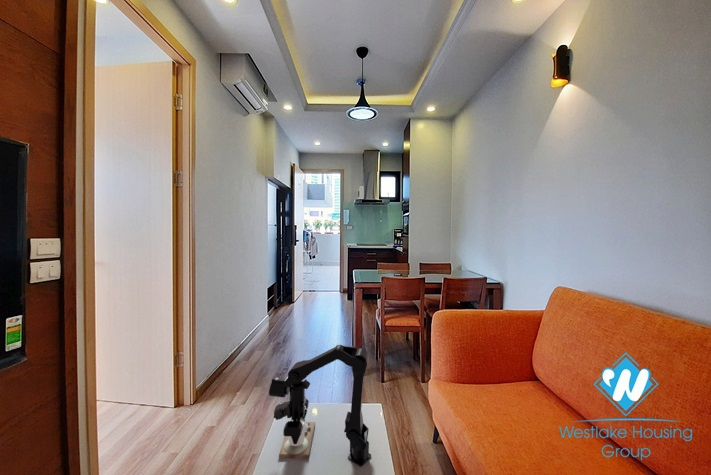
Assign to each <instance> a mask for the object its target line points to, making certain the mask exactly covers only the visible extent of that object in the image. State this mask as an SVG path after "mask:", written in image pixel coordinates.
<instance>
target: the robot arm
mask: <svg viewBox="0 0 711 475" xmlns="http://www.w3.org/2000/svg"><path fill="white" fill-rule="evenodd" d="M369 355H370V354H369V352H368V351H367V350H366V349H365V348H358V347H354V346H345V345H343V344H337V345H336V346H334V347H333V348H329V349H328V350H327V351H324V352H323V353H321V354H319V355H317V356H315V357H312V358H311V359H306V360H305V359H304V360H301V361H297V362H295V363H293V366H292V367H291V368H290V369H289V371H288V373H287V376H286V378H285V377H277V376H273V378H272V379H271V382H270V385H269V389H268V395H269V397H276V398H286V396H287V395H289V400H288V401H284V402H281V403H279V404H277V405H275V408H274V410H273V418H274V419H275V420H276V421H278V420H281V419H283V418H284V417H285V418H287V419H290V420H293V421H290V420H287V421H286V422H285V425H284V427H283V431H282V432H283V436H284V437H285V436H291V437H292V441H293V444H297V442H298V439H299V437H300V435H301V433H302V429H303V424H302V423H301V422H300V420H301V418H303V419H305V418H306V416H307V413H308V409H309V402H310V401H309V400H308V398H306V390H308V389H309V387H310V385H311V383H310V381H308V380H307V379H306V378H307V377H308V376H310V375H311V374H312V373H313V372H315V371H317V370H319V369H321V368H323V367H325V366H327V365H329V364H331V363H333V362H335V361H337V360H338V361H340V362H342V363H343V364H344V365H346V366H349V367H351V373H352V376H353V381H352V383H353V384H352V393H351V407H350V411H347V413H346V417H345V420H344V430H343V433H345V437H346V438H347V440H348V441H349V454H348V455H347V459H348V460H350V461H351V462H353V463H355V464H357V465H358V466H359V467H363V466H364V464H366V462H367V461H369V459H370V458H371V457H372V454H371V453H370V452H369V451H370V442H369V441H368V438H369V437H368V435H369V427H368V426H367V425H366V424H365V423H364V419H363V418H364V417H363V411H362V405H363V404H362V403H363V393H364V380H365V374H366V370H367V367H368V363H369V358H370V356H369ZM297 420H298V421H297Z"/></svg>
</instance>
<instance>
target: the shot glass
mask: <svg viewBox="0 0 711 475" xmlns="http://www.w3.org/2000/svg"><path fill="white" fill-rule="evenodd" d="M289 421H293V420H291V419H290V420H289ZM297 421H298V420H297ZM300 422H301V423H302V424H303V429H302V433H301V435H300V437H299V439H298V442H297V444H293V441H292V437H291V436H289V443H290V445H292V446H299V445H301V444H302V443H303V442H304V435H305V425H306V422H307V421H306V420H305V419H303V418H301V420H300Z"/></svg>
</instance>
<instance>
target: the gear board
mask: <svg viewBox="0 0 711 475" xmlns="http://www.w3.org/2000/svg"><path fill="white" fill-rule="evenodd" d="M315 429H316V421H306V425H305V435H304V442H303V443H302V444H301V445H299V446H292V445H290V443H289V436H284V437H283V441H282V444H281V448H280V449H279V453H278V459H306V460H307V459H309V458H310V454H311V448H312V445H313V439H314V433H315Z"/></svg>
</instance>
